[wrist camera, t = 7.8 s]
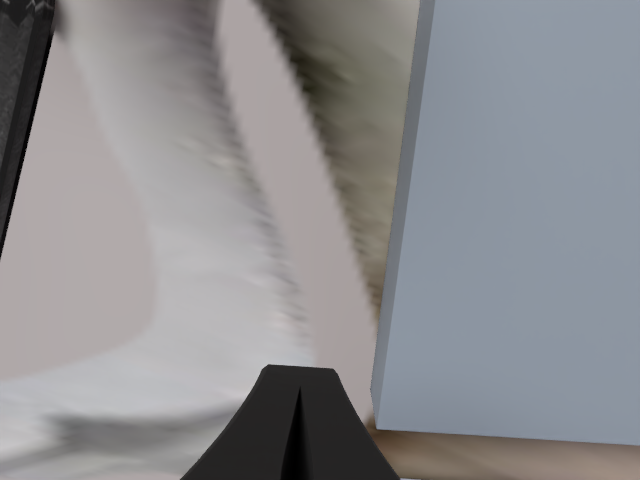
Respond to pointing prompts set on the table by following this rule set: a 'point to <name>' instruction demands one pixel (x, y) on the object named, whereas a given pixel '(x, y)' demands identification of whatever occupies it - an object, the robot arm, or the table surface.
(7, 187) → the phone
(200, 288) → the table surface
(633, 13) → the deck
